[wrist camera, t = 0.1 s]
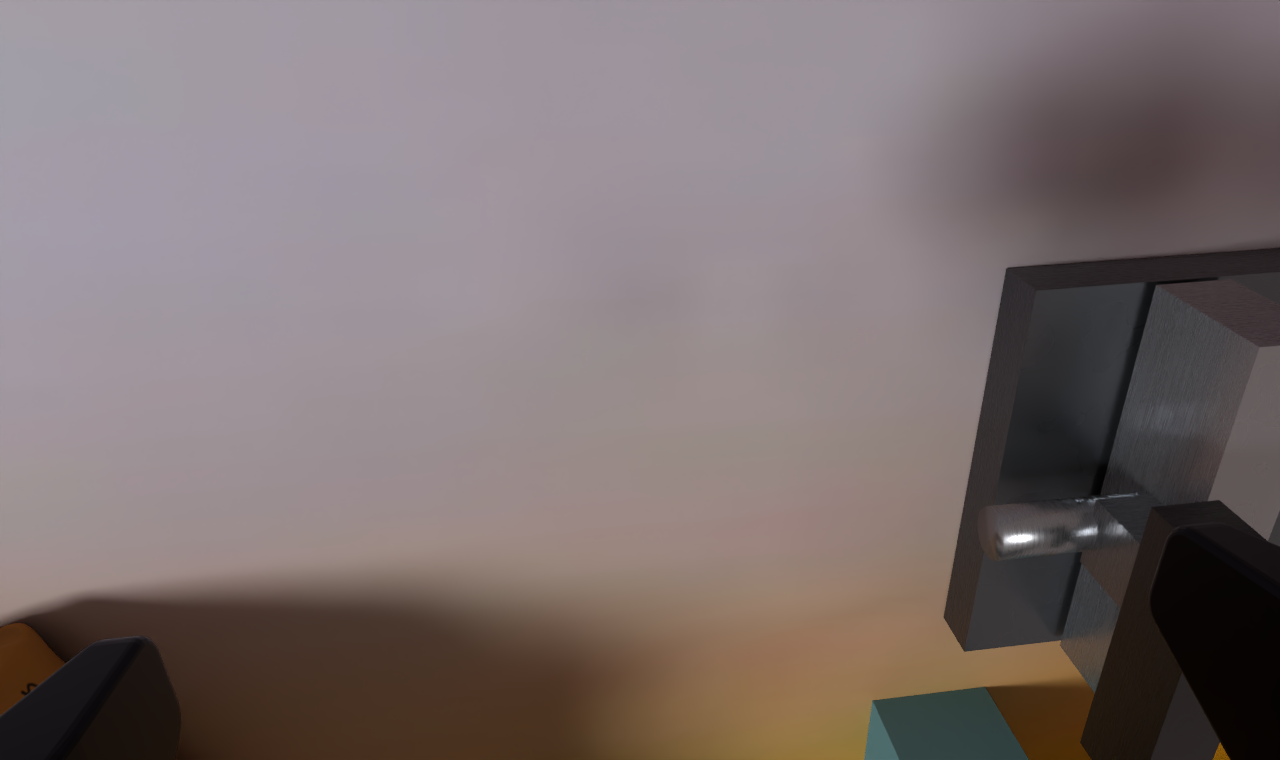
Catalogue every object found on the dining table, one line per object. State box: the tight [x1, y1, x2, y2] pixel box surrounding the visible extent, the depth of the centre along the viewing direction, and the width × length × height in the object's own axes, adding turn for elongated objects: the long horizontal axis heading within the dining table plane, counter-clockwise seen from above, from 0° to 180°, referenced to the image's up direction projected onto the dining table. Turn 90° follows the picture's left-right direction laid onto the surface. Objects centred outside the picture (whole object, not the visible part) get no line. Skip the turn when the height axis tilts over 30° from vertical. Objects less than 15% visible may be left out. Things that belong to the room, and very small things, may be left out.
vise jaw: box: [977, 279, 1280, 760], centre depth 22 cm, size 12×6×7 cm, turn 1°
